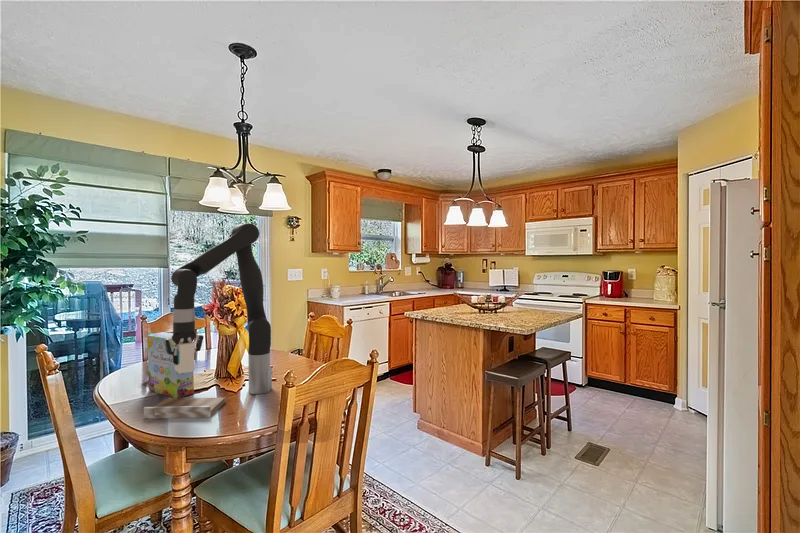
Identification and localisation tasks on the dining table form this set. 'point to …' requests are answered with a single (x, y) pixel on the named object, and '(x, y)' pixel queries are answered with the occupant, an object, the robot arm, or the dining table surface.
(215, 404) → the shelf plank
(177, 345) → the robot arm
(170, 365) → the snack box
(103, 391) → the dining table surface
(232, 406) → the dining table surface
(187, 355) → the product box
